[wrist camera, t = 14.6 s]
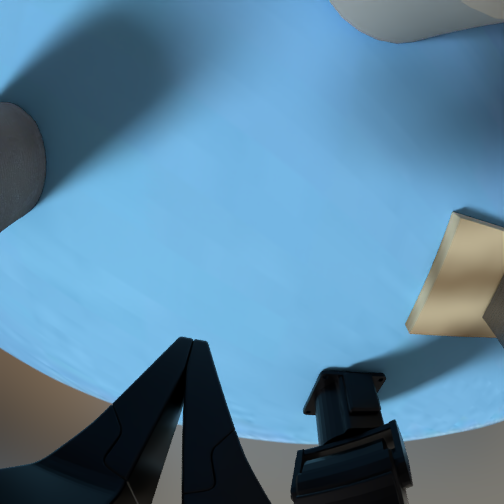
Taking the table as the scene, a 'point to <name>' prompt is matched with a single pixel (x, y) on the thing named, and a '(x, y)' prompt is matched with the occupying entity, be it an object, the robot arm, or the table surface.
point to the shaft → (496, 313)
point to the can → (417, 17)
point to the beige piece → (461, 281)
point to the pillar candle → (19, 163)
